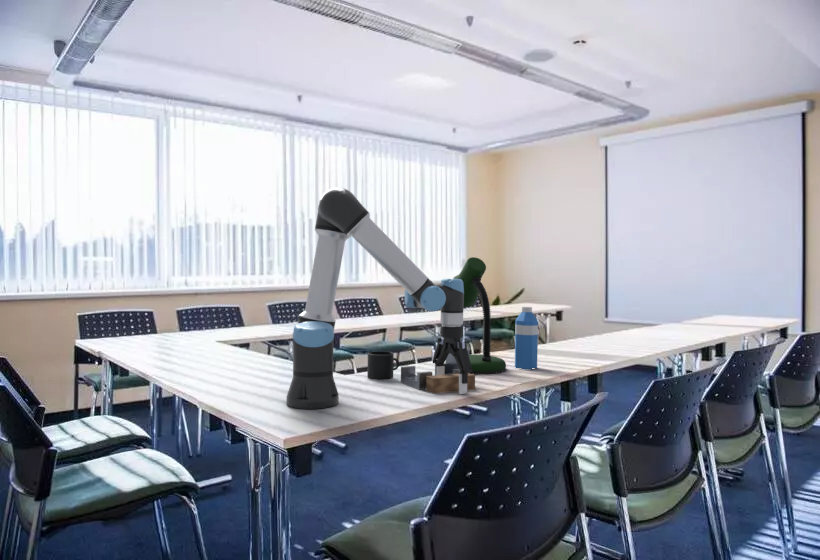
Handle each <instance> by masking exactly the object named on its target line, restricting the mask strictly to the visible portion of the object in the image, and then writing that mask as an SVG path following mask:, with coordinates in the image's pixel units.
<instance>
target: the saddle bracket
mask: <svg viewBox="0 0 820 560" xmlns="http://www.w3.org/2000/svg"><path fill="white" fill-rule="evenodd" d="M426 376H433V371H428V370H427V371H418V372H416V366H415V365H408V366H401V367H400V383H401V384H403V385H405V386H409V387H411V388H413V389H416V390H419V391H420V390H421V391H422V390H426Z"/></svg>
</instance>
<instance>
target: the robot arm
mask: <svg viewBox="0 0 820 560" xmlns="http://www.w3.org/2000/svg"><path fill="white" fill-rule="evenodd" d="M318 203H319V204H318V206H317V213H316V215H317V216H316V220H315V225H314V231H315V233H316V234H317V243H316V248H315V252H314V253H315V255H314V260H313V264H312V270H311V275H310V279H309V280H310V281H309V286H308V293H307V297H306V303H305V309H304V311H302V312H300V314H298V320H297V324H295V325H294V327H293V332H292V340H293V344H292V346H293V347H292V350H293V351H292V353H293V354H292V380H291V382H290V385H289V388H288V390H287V395H286V405H287V406H289V407H290V408H295V409H301V410H302V409H304V410H305V409H306V410H319V409H324V408H325V409H326V408H330V407H334V406H337V405H338V404H339V400H340V399H339V398H340V396H339V391H338V388H337V385H336V381H335V378H334V338H335V327H336V326H335V325H336V319H335V318H334V316H333V310H334V305H335V300H336V294H337V288H338V283H339V278H340V271H341V268H342V261H343V256H344V250H345V246H346V245H345V243H346V241H348V239H350V238H351V237H352V238H353V239H354V240H355V241H356V242H357V243H358V244H359V245H360V246H361V247H362V248H363V249H364V250H365V251H366V252H367V253H368V254H369V255H370V256H371V257H372V258H373V259H374V260H375V261H376V263H378V264H379V265H380V266H381V267H382V268H383V269H384V270H385V271H386V272H387V273H388V274H389V275H390V276H391V277H392V278H393V279H394V280H395V281H396V283H397V284H399V285H400V286H401V287H402V288H403V289H404V304H405V306H406V308H414V309H417V308H419V309H424V310H425V311H427V312H437V311H439V310H440V324H441V326H440V337H438V338H437V344H436V348H435V351H434V354H433V358H432V364H434V366H435V365H436V374H437V375H444V370H445V366H443V365H444V363H446V358H447V356H448V355H449V353H450V354H452V355H453V356H454V357H455V360H456V362H457V364H458V367H459V369H460V372H459V391H458V394H459V395H462V394H463V395H464V394H468V390H467V383H468V373H469V372H472V367H471V363H470V359H469V355H468V351H467V350H468V345H467V342H466V341H461V338H463V337H464V326H463V324H464V307H463V303H464V286H463V281H462V280H461V279H453V278H442V279H441V280H440V284H435V283H434V282H433V281H432V280H431V279H429V277H428V276H427V275H426V274H425V273H424V272H423V271H422V270H421V269H420V268H419V267H418V266H417V265H416V263H414V262H413V261H412V259H410V258H409V256H408V255H406V254H405V252H403V250H402V249H401V248H399V246H398V245H397V244H396V243H394V241H392V239H391V238H390V237H389V236H388V235H387V234H385V232H384V231H383V230H382V229H381V228H380V227H379V226H378V225H377V224H376V223H375V222H374V221H373V220H372V219H371V217H370V216H371V214H370V212H369V211H368V210H367V208H365V206H363V204H362V203H361V202H360V200H359V199H357V197H356V195H354V193H353V192H351V191H350V190H349V189H346V188H345V187H332V188H330V189H328V190H326V191H325V192H324V193H323V194H322V196H321V197H320V199H319V202H318ZM463 369H464V370H463Z"/></svg>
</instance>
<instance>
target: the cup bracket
mask: <svg viewBox="0 0 820 560" xmlns="http://www.w3.org/2000/svg"><path fill="white" fill-rule="evenodd" d="M467 351H468V355H469V359H470V355H471V353H470V351H471V350H470V349H467ZM443 366H445V370H444V375H448V374H459V372H460V369H459V367H458V364H457V362H456V360H455V357H454V356H453V355H452V354H450V353H449V355H448V356H447V358H446V360H445V362H444V365H443ZM463 370H464V369H463ZM435 375H437V374H436V365H435V364H434V376H435Z"/></svg>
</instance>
